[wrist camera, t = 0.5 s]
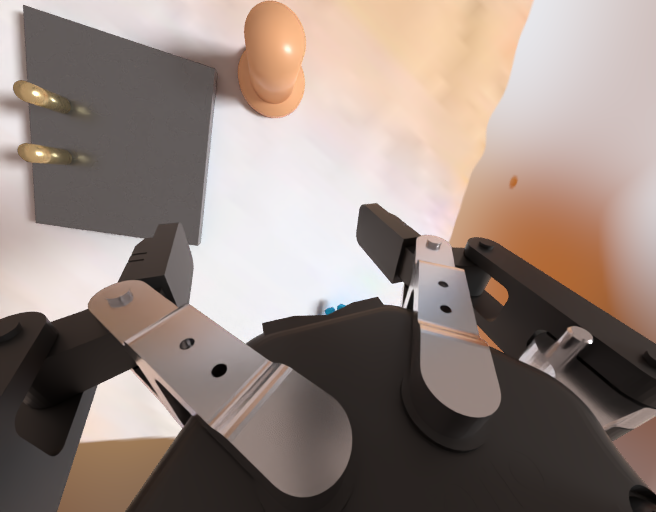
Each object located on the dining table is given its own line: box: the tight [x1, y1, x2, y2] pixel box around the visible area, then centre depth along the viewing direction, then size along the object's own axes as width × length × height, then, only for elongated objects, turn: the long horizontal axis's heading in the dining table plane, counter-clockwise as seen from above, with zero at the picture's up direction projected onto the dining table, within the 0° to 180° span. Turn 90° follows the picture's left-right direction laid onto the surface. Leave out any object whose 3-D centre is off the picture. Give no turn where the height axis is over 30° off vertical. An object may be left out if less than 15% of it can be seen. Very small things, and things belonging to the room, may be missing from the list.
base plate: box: [13, 5, 217, 246], centre depth 26 cm, size 20×16×6 cm
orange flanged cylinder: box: [238, 1, 306, 118], centre depth 25 cm, size 8×8×10 cm
